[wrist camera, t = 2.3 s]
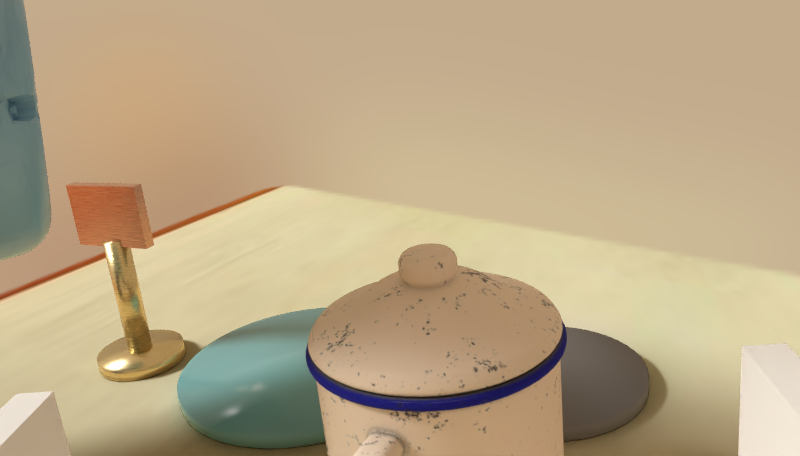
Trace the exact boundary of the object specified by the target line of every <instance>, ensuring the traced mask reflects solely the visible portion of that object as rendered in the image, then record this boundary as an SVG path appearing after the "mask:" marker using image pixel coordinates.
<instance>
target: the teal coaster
mask: <svg viewBox="0 0 800 456" xmlns="http://www.w3.org/2000/svg"><path fill="white" fill-rule="evenodd" d="M325 309H326V308H317V309H308V310H302V311H296V312H290V313H286V314H281V315H277V316H273V317H270V318H266V319H263V320H260V321H257V322H254V323H251V324H248V325H246V326H243V327H241V328H238V329H236V330H234V331H232V332H230V333H228V334H226V335H224V336H222V337H220V338H219V339H217V340H215V341H213V342H212V343H211V344H209V345H208V346H206V347H205V348H203V349H202V350H201V351H200V352H199V353H197V354H196V355H195V356H194V357H193V358H192V359H191V360H190V361H189V362H188V364H187V365H186V367H185V368H184V369H183V371H182V373H181V375H180V377H179V380H178V385H177V392H178V399H179V403H180V408H181V411H182V413H183V416H184V418H185V419H186V420H187V422H188V423H189V424H190V425H191V426H192V427H193V428H194V429H196V430H197V431H198V432H200V433H202V434H203V435H205V436H207V437H209V438H212V439H215V440H217V441H220V442H223V443H228V444H232V445H236V446H243V447H251V448H290V447H299V446H308V445H313V444H318V443H324V442H326V441H325V435H324V428H323V421H322V415H321V408H320V402H319V395H318V389H317V382H316V380H315V379H314V377H313V376H312V374H311V373H310V371H309V369H308V366H307V363H306V347H307V343H308V338H309V334H310V332H311V329H312V327H313V325H314V323H315V321H316V320H317V318H318V317H319V316H320V315H321V313H322V312H323V311H324V310H325Z"/></svg>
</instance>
